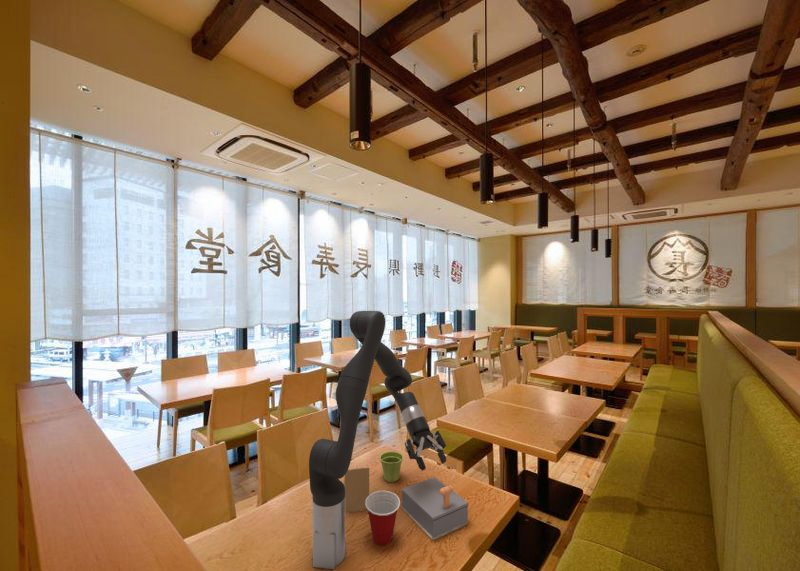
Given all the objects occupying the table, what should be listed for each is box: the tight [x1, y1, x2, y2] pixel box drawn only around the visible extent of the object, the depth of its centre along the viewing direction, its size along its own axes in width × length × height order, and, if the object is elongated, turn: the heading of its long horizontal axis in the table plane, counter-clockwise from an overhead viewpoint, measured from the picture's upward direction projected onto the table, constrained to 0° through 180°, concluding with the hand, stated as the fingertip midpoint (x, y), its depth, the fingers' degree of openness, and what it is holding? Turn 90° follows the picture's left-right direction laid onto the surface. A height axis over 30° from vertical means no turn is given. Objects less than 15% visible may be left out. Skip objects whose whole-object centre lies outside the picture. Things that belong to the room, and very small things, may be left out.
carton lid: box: [401, 476, 469, 520], centre depth 122 cm, size 18×14×7 cm
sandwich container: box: [343, 466, 370, 514], centre depth 132 cm, size 9×15×15 cm, turn 13°
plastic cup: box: [365, 490, 401, 546], centre depth 111 cm, size 11×11×12 cm
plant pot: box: [379, 451, 404, 483], centre depth 145 cm, size 9×9×9 cm
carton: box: [401, 491, 469, 542], centre depth 122 cm, size 18×14×6 cm
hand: (434, 466), depth 121 cm, fingers open, 8 cm apart
